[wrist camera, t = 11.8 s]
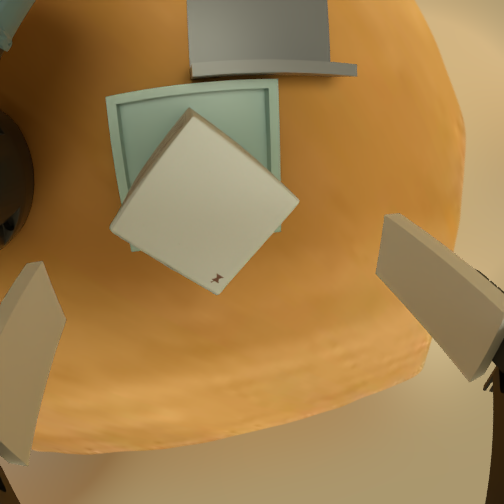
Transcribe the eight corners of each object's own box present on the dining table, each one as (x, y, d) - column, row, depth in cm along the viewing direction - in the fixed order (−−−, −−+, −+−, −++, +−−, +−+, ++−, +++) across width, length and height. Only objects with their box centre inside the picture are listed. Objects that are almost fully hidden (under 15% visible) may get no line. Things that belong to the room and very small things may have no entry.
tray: (134, 242, 30) (131, 251, 28) (110, 96, 23) (105, 96, 21) (275, 223, 32) (280, 231, 30) (271, 79, 25) (278, 78, 23)
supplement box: (254, 156, 28) (306, 204, 17) (201, 218, 29) (217, 302, 18) (189, 103, 24) (194, 111, 13) (135, 172, 26) (105, 233, 15)
